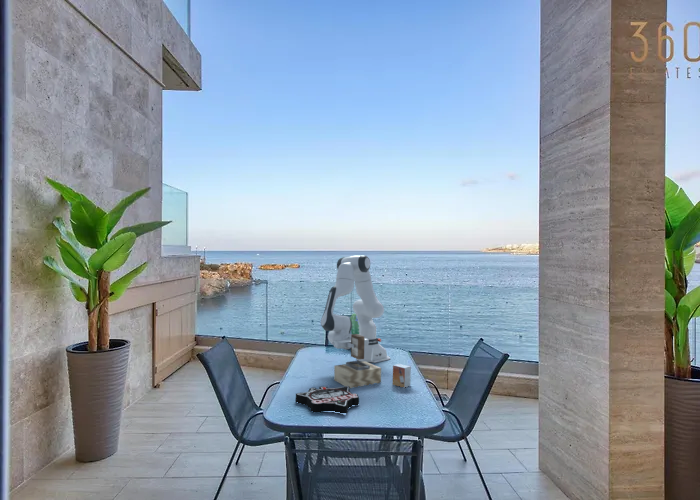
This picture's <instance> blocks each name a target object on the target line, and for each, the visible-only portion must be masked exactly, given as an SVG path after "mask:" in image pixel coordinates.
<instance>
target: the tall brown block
mask: <svg viewBox="0 0 700 500" xmlns="http://www.w3.org/2000/svg"><path fill="white" fill-rule="evenodd" d="M350 334H351V344H355V345H356V347H355V348H352V347H351V348H350V357H352V358H354V359H356V360H357V359H358V360H357V361H359V359H364V338H365V337H364V336H361V335H358V334H352V333H350Z"/></svg>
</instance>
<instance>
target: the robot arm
mask: <svg viewBox="0 0 700 500" xmlns="http://www.w3.org/2000/svg"><path fill="white" fill-rule="evenodd" d="M370 268H371V260H370V258H369V257H368V256H367V255H364V254H363V255H362V254H361V255H350V256H343V257H340V258H339V259H338V260H337V262H336V269H337V272H336V277H335V279H336V280H335V282H334V283H335V284H334V286H332V287H330V289H329V292H328V296H327V299H326V303H325V307H324V311H323V314H322V316H321V319H320V326H321V328H322V329H323V331H327V332H328V333H327V339H328V341H329V342H330V345H333V348H336V349H340V350H341V349H344V350H351V347H352V348H355V347H356V345H355V344H351V334H352V333H351V329H352V322H351V320H350V317H349V316H347V315H340V314H335V313H334V311H335V310H334V309H335V306H336V302H337V300H338V298H340V297H344V296H347V295H350V294H351V293H352V291H354V287H355V290H356V293H357V295H358V296H359V298H360V299H356V300H355V301H354V302H353V304H352V310H353V312H354V313H355V314H356V315H357V318H358V322H359V335H361V336H364V337H365V338H364V359H359V360H358V359H356V361H360V362H364V361H366V362H368V363H379V362H384V361H388V360H391V357H390V356H389V355H388V353H387V349H386V348H385V347H383V346H382V345H381V344H380V343H381V342H382V339H381V338H377V326H376V323H375V322H374V320H373V319H377V318H380V317H382V316H383V314H384V313H385V308H384V305H383V304H382V303H381V302H380V301H379V299H378V297H377V294H376V293H375V291H374V290H375V289H374V285H373V281H372V276H371V271H370ZM379 342H380V343H379Z"/></svg>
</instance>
